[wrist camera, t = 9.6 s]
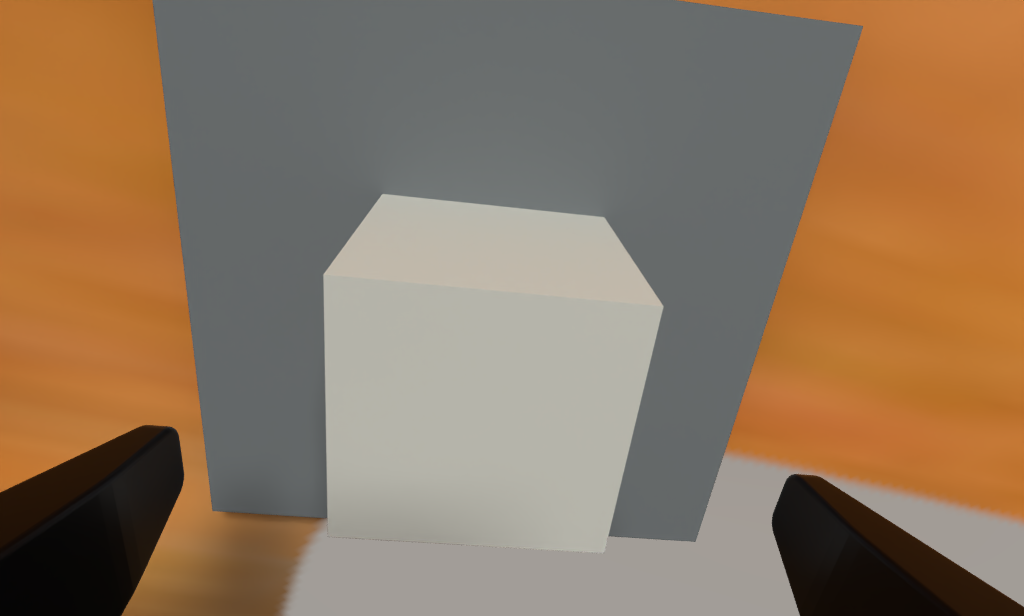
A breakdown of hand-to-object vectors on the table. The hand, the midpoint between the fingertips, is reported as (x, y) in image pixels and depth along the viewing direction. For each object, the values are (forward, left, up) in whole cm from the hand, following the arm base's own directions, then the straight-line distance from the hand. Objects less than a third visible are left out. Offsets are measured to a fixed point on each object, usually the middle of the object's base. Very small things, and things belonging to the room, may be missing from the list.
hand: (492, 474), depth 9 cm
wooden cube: (0, 0, -6) cm, 6 cm away
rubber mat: (0, 0, -7) cm, 7 cm away
